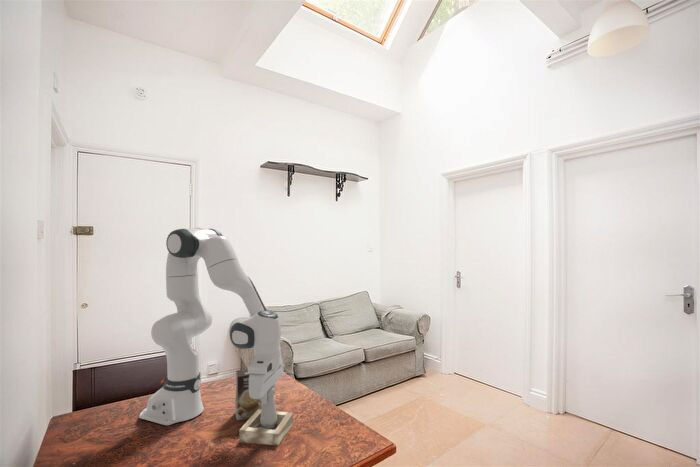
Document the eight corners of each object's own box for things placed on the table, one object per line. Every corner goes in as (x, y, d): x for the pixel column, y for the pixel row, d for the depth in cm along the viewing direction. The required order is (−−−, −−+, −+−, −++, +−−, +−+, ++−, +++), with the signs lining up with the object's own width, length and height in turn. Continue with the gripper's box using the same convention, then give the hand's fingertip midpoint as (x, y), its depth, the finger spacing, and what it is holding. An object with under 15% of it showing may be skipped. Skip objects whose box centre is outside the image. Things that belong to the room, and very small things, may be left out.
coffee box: (236, 421, 125) (236, 376, 125) (235, 412, 131) (235, 370, 131) (262, 416, 128) (262, 373, 129) (259, 408, 134) (260, 367, 134)
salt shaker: (273, 431, 114) (273, 392, 114) (257, 429, 115) (257, 390, 115) (280, 422, 120) (279, 384, 120) (264, 420, 121) (264, 383, 121)
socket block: (239, 442, 112) (239, 429, 112) (257, 420, 125) (257, 409, 126) (278, 446, 110) (278, 434, 110) (293, 424, 123) (293, 412, 123)
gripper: (271, 349, 129) (271, 386, 128) (244, 370, 108) (244, 414, 108) (287, 350, 127) (287, 387, 127) (263, 371, 107) (263, 415, 107)
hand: (267, 399), depth 118 cm, fingers closed on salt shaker, 3 cm apart
